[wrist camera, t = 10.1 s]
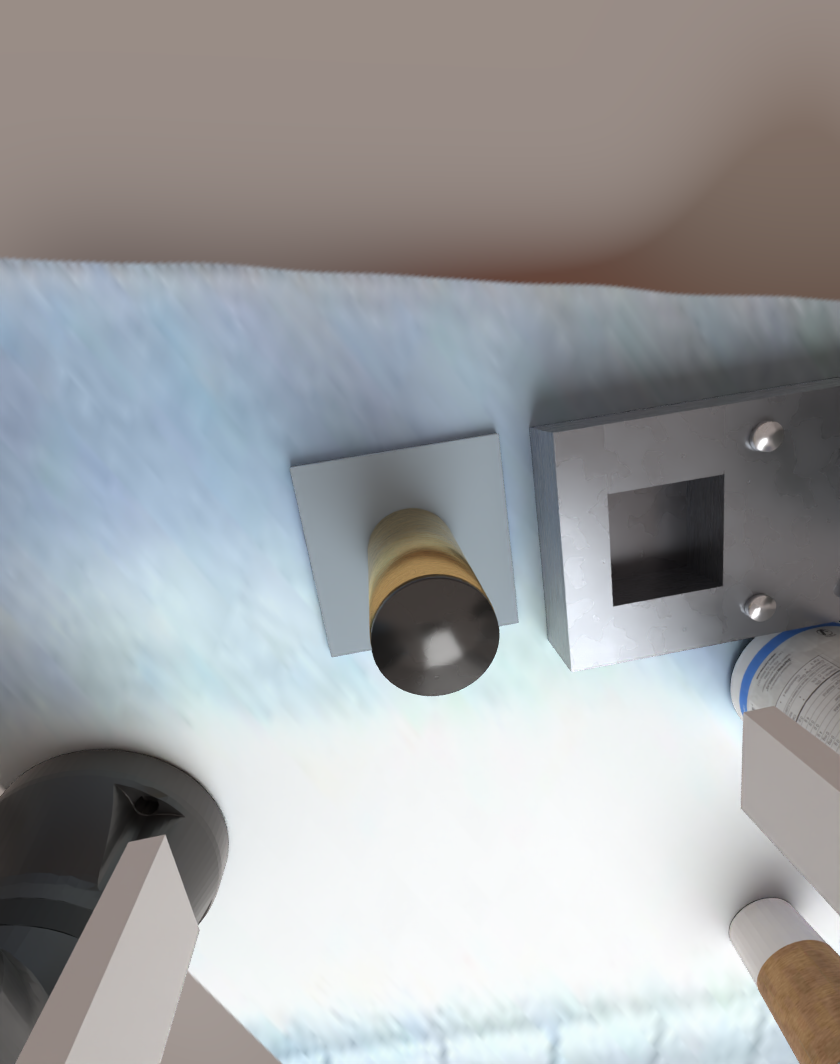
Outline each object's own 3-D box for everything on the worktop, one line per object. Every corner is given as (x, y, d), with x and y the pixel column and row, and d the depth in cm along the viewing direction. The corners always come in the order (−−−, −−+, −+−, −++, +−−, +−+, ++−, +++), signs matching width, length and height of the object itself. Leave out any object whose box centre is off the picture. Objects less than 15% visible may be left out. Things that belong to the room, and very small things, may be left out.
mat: (331, 652, 33) (331, 657, 32) (291, 466, 29) (289, 468, 29) (516, 618, 33) (518, 622, 33) (495, 433, 30) (498, 433, 30)
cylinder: (374, 596, 31) (380, 706, 21) (361, 515, 30) (360, 589, 19) (458, 583, 32) (505, 685, 21) (449, 502, 30) (495, 568, 20)
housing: (548, 640, 34) (574, 675, 30) (529, 427, 30) (555, 433, 26) (832, 587, 35) (895, 613, 31) (848, 375, 31) (923, 373, 27)
